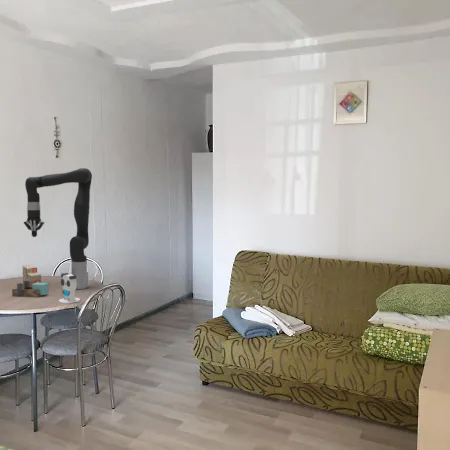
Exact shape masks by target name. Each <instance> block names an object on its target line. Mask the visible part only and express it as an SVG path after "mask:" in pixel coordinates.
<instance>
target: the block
mask: <svg viewBox="0 0 450 450" xmlns="http://www.w3.org/2000/svg"><path fill="white" fill-rule="evenodd" d="M32 290H39V294H40V295H42V296H45V295H47V294H48V293H49V283H48V282H41V283H34V284H32Z"/></svg>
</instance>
